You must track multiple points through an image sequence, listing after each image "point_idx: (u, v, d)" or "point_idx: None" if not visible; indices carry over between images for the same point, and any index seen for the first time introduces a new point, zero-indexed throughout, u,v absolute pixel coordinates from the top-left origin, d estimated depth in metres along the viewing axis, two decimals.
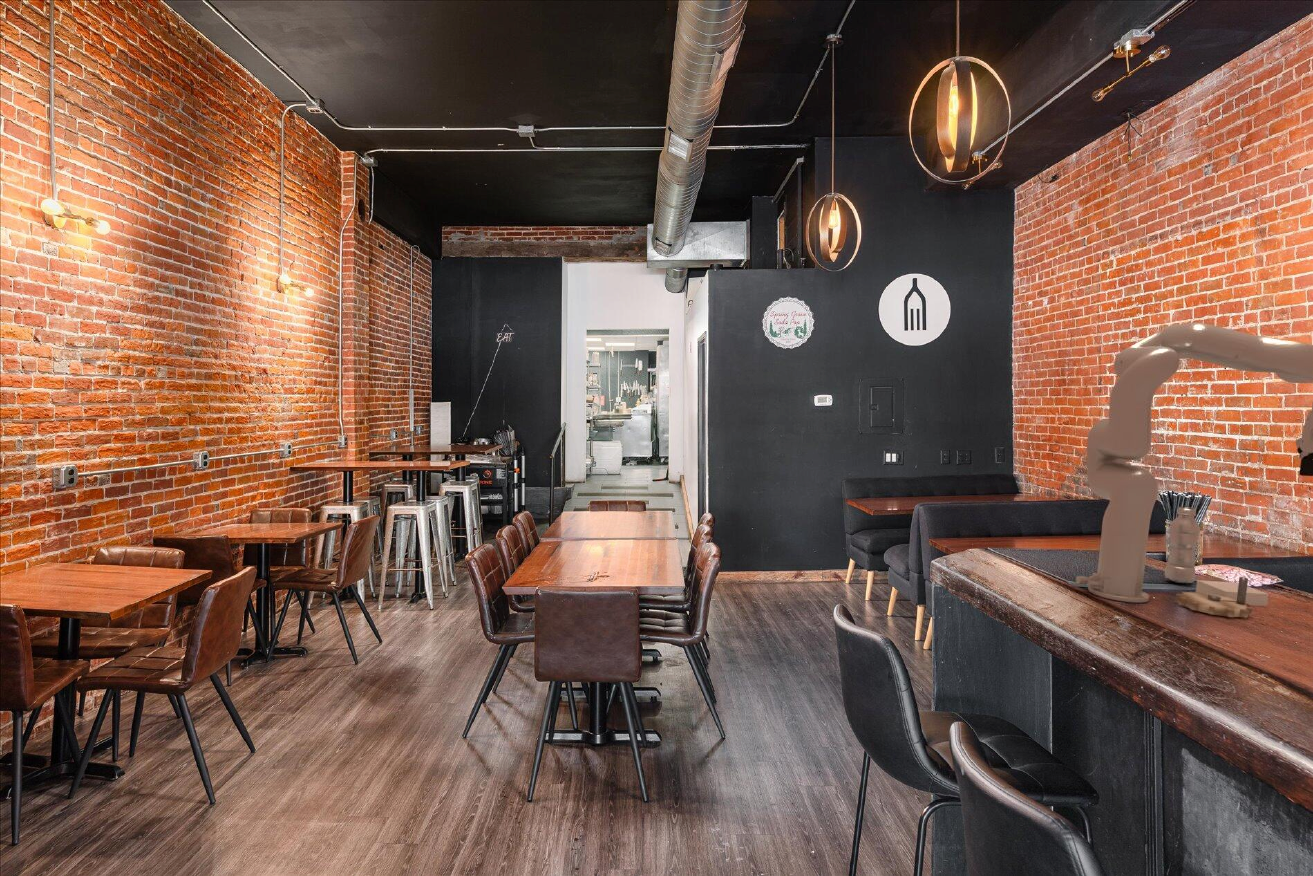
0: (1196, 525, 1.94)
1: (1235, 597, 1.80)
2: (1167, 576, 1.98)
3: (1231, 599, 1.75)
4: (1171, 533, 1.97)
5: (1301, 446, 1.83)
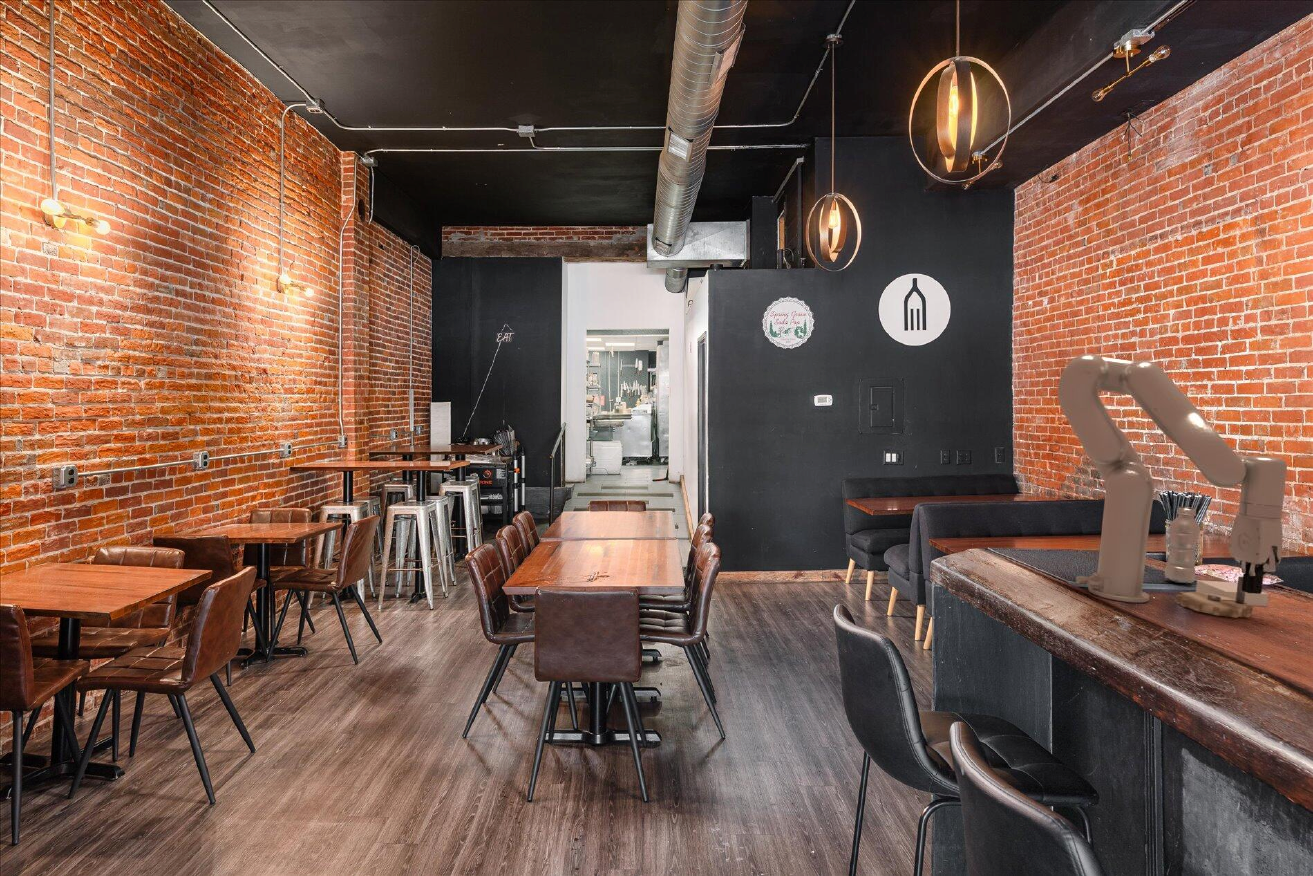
0: (1196, 525, 1.94)
1: (1235, 597, 1.80)
2: (1167, 576, 1.98)
3: (1228, 598, 1.76)
4: (1171, 533, 1.97)
5: (1229, 551, 1.73)
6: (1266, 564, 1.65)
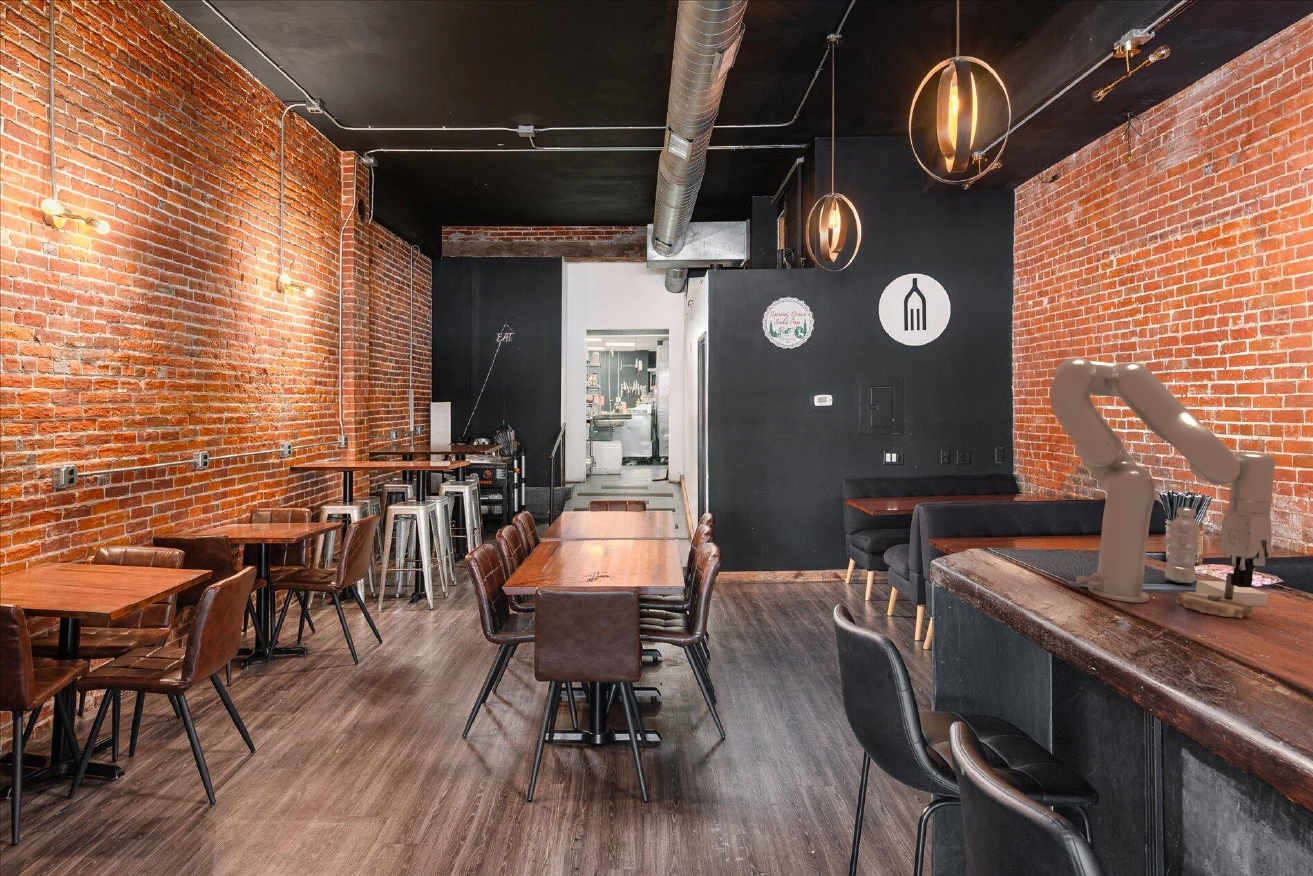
0: (1196, 525, 1.94)
1: (1235, 597, 1.80)
2: (1167, 576, 1.98)
3: (1210, 594, 1.79)
4: (1171, 533, 1.97)
5: (1220, 546, 1.76)
6: (1256, 558, 1.68)
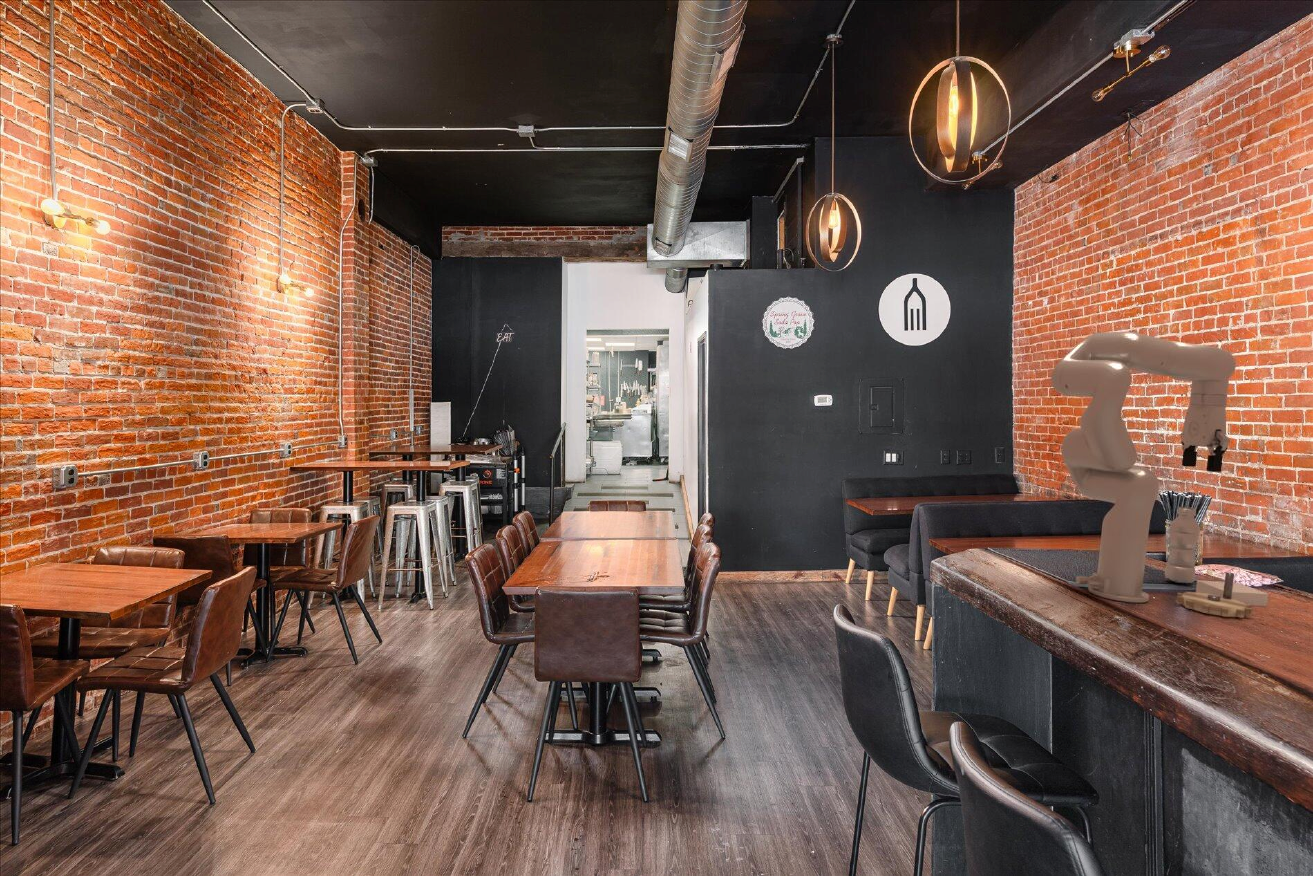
0: (1196, 525, 1.94)
1: (1235, 597, 1.80)
2: (1167, 576, 1.98)
3: (1208, 594, 1.79)
4: (1171, 533, 1.97)
5: (1182, 439, 1.96)
6: (1216, 436, 1.86)
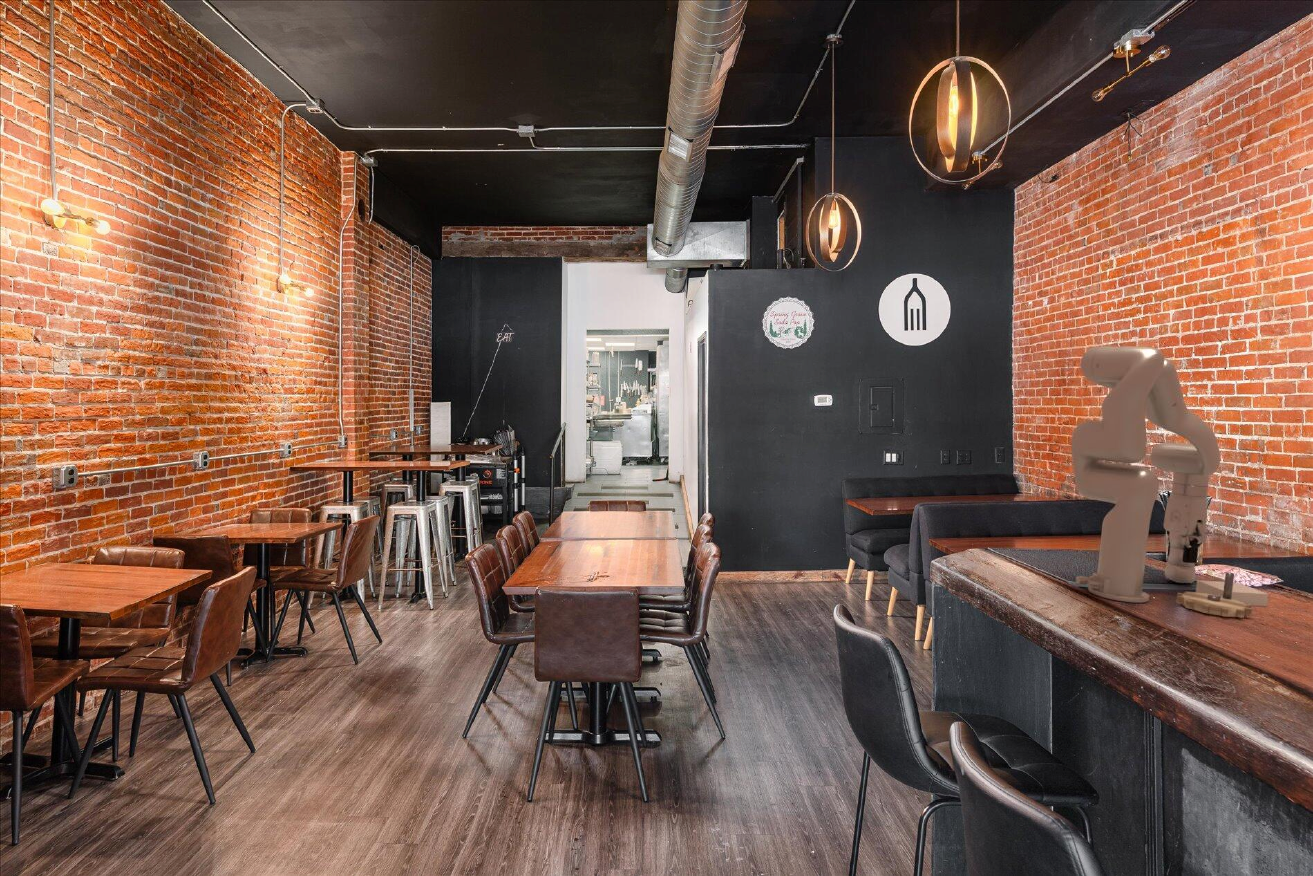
0: None
1: (1235, 597, 1.80)
2: (1167, 576, 1.98)
3: (1208, 594, 1.79)
4: (1171, 533, 1.97)
5: (1164, 525, 2.01)
6: (1196, 531, 1.92)
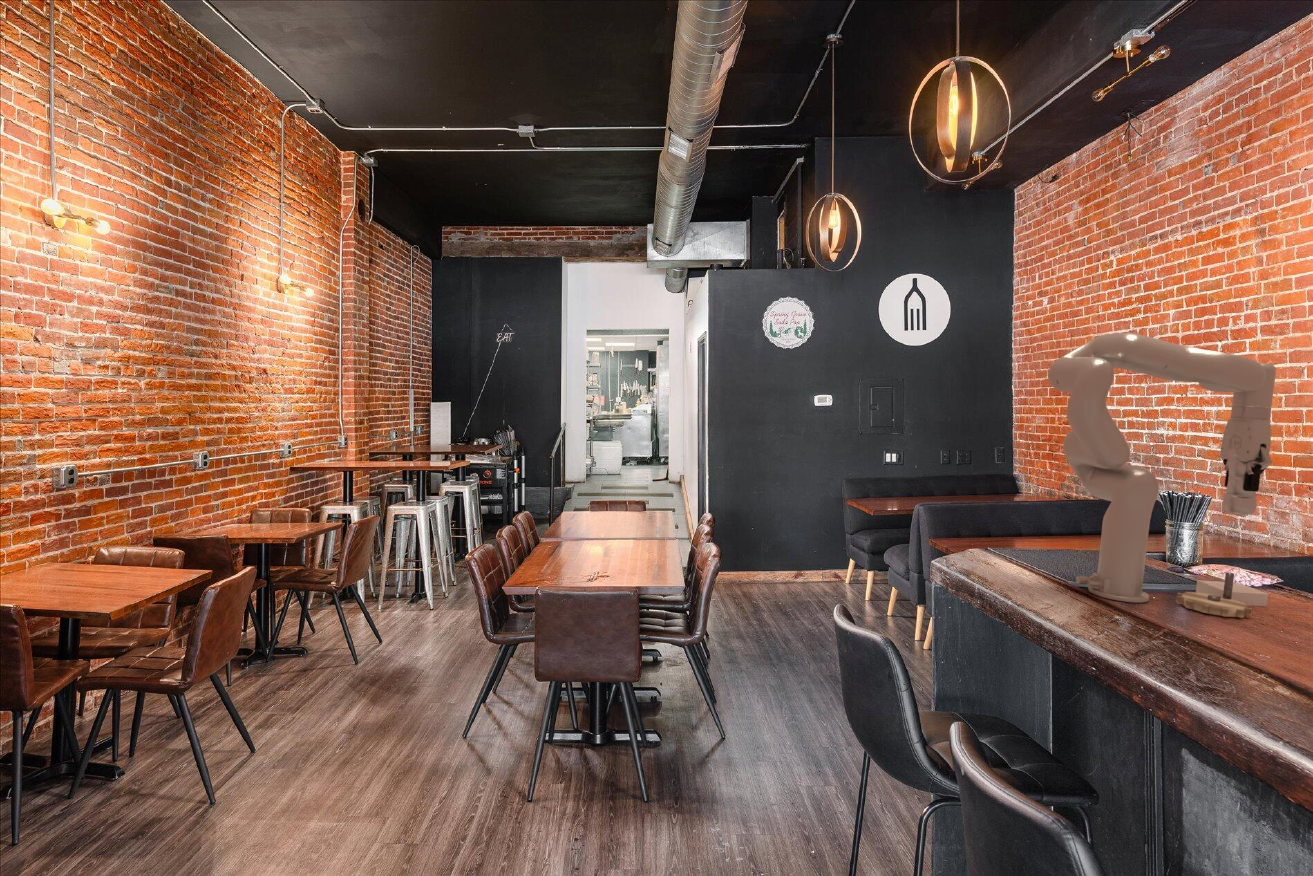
0: None
1: (1235, 597, 1.80)
2: (1225, 506, 1.84)
3: (1208, 594, 1.79)
4: (1230, 460, 1.83)
5: (1221, 453, 1.87)
6: (1259, 456, 1.77)
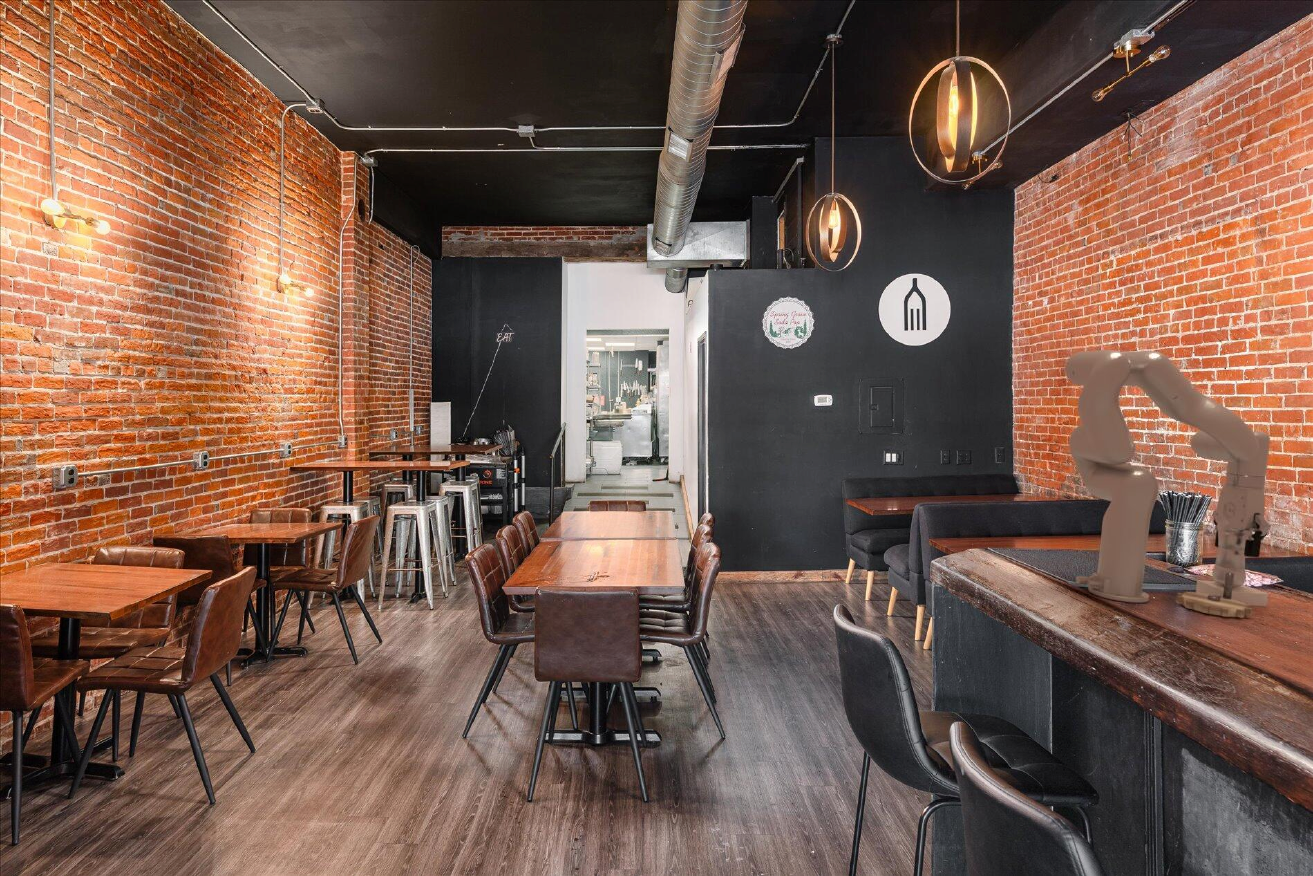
0: None
1: (1235, 597, 1.80)
2: (1215, 577, 1.86)
3: (1208, 594, 1.79)
4: (1220, 532, 1.85)
5: (1216, 519, 1.88)
6: (1255, 520, 1.78)
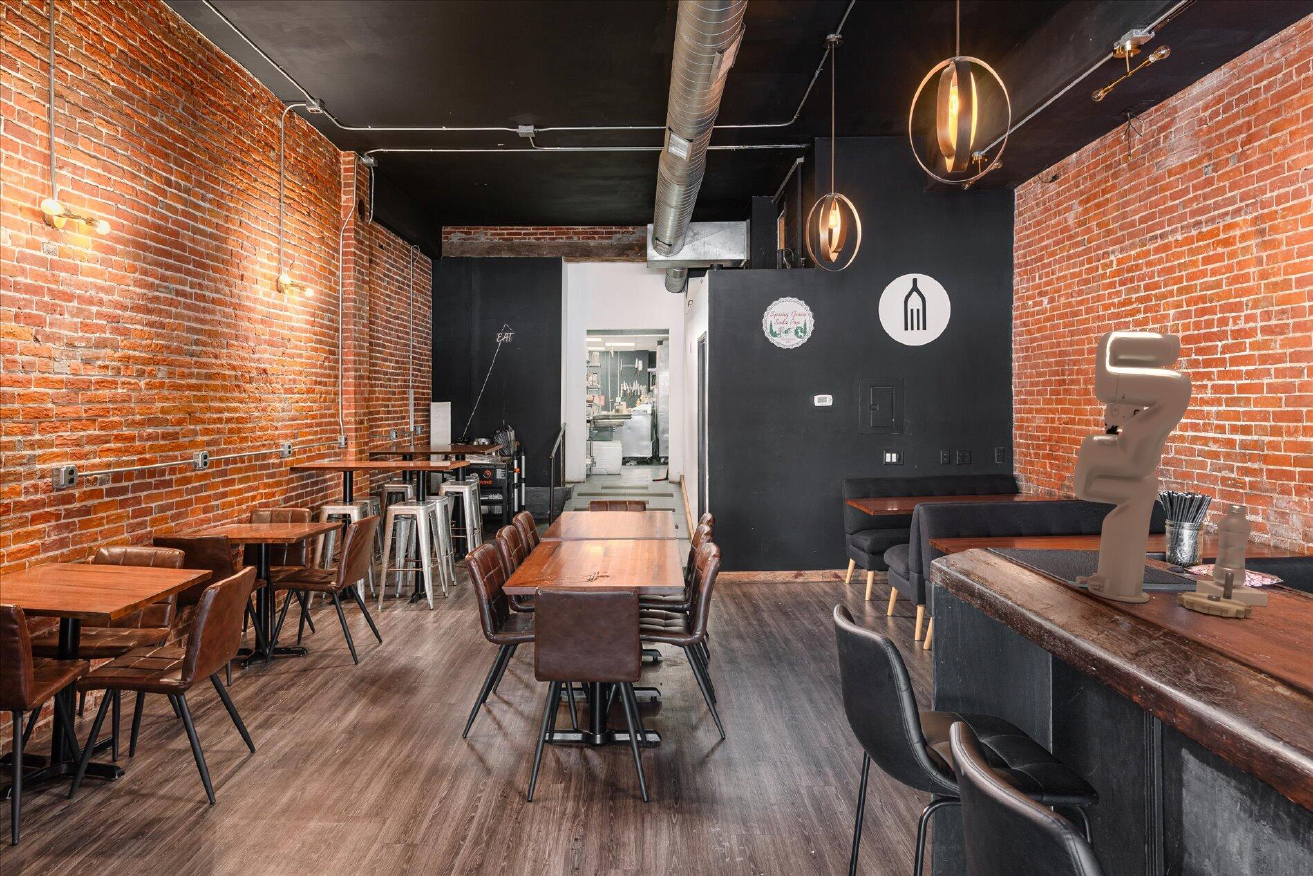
0: (1247, 523, 1.82)
1: (1235, 597, 1.80)
2: (1215, 577, 1.86)
3: (1208, 594, 1.79)
4: (1220, 532, 1.85)
5: (1105, 419, 2.05)
6: (1135, 416, 1.95)
